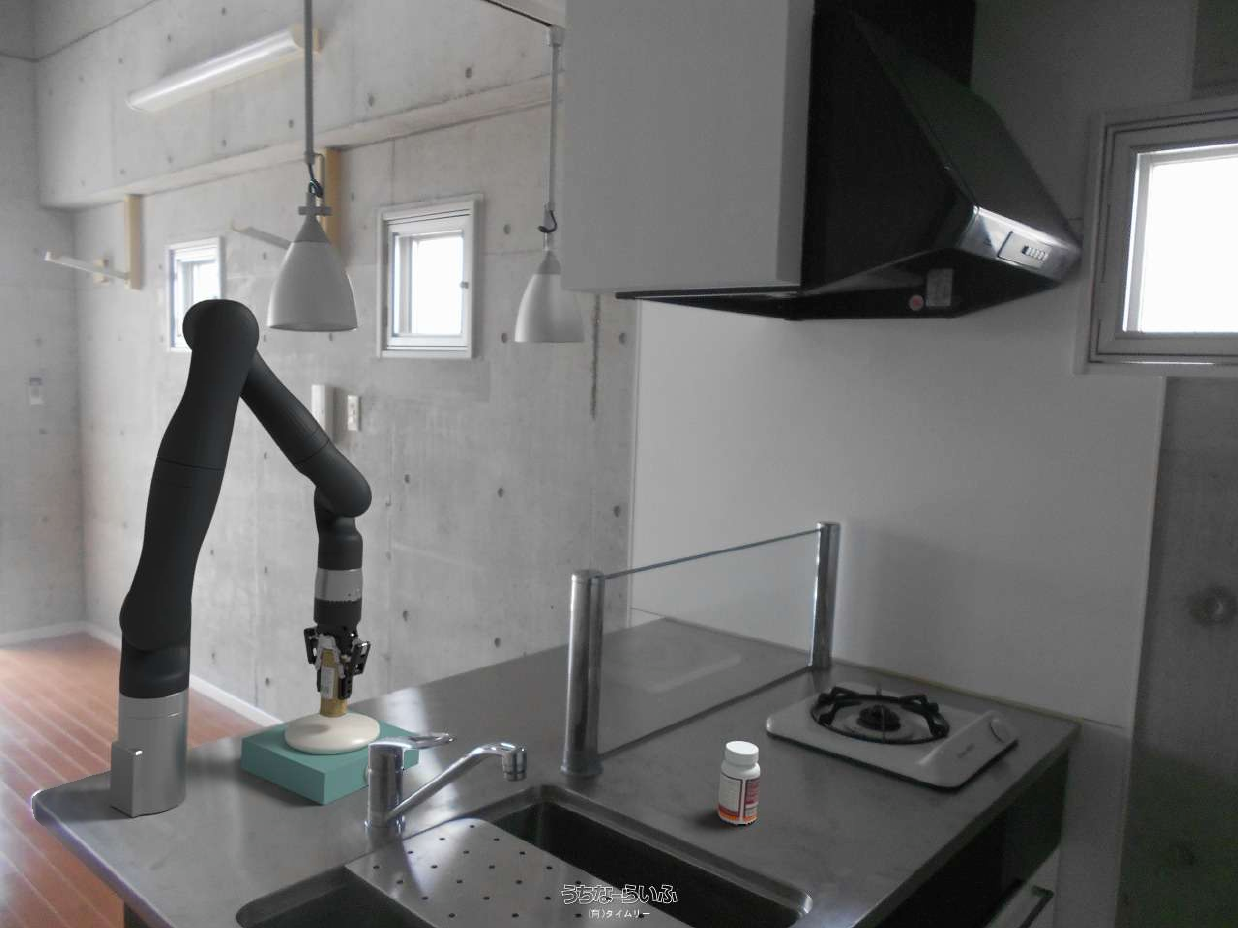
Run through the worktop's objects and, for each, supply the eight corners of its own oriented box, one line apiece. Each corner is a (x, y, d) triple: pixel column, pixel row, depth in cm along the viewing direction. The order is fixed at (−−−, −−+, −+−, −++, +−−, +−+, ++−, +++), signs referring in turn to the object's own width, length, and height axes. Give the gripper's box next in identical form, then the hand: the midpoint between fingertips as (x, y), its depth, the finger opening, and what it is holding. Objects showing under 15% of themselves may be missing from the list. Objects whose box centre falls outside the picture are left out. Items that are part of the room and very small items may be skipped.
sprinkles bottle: (351, 716, 149) (354, 636, 148) (322, 720, 146) (326, 639, 145) (342, 707, 153) (346, 629, 152) (315, 710, 150) (318, 631, 149)
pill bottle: (753, 808, 145) (759, 740, 144) (759, 827, 139) (765, 756, 138) (715, 806, 145) (720, 738, 144) (719, 824, 139) (724, 753, 138)
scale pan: (327, 762, 140) (327, 754, 140) (264, 737, 147) (265, 729, 147) (398, 734, 152) (398, 727, 152) (337, 712, 160) (338, 705, 160)
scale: (326, 806, 136) (327, 774, 136) (240, 768, 147) (241, 738, 147) (420, 764, 153) (422, 735, 153) (338, 732, 164) (339, 706, 164)
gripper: (290, 589, 148) (286, 690, 150) (350, 605, 141) (345, 711, 142) (327, 582, 155) (323, 679, 156) (386, 597, 147) (381, 699, 149)
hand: (333, 694), depth 149 cm, fingers closed on sprinkles bottle, 4 cm apart
